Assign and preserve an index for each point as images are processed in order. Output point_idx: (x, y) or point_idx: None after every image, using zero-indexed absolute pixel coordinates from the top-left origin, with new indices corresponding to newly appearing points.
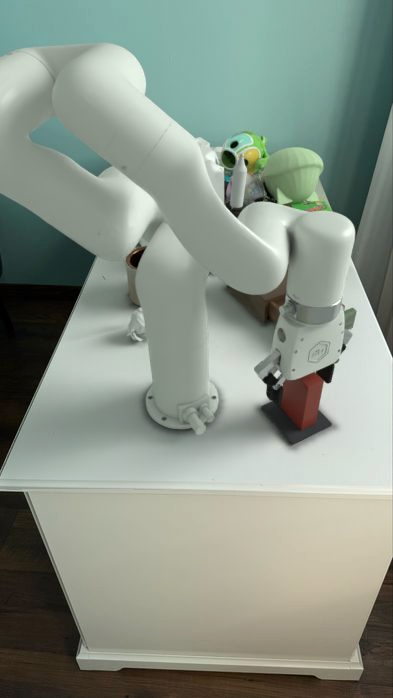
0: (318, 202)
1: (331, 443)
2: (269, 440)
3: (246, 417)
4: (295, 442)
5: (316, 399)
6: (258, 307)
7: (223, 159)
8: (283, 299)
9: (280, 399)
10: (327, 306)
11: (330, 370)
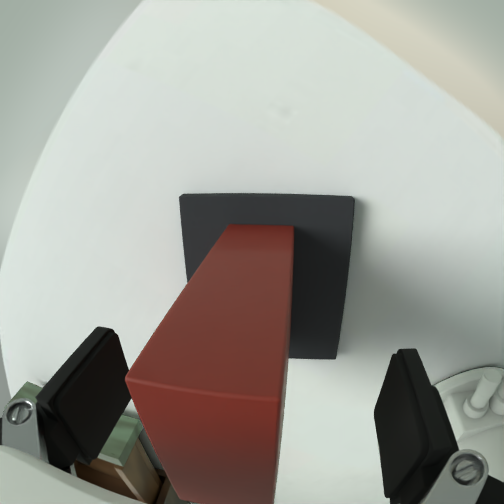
0: None
1: (228, 133)
2: (398, 250)
3: (388, 346)
4: (340, 197)
5: (212, 291)
6: (171, 501)
7: None
8: (120, 485)
9: (420, 379)
10: None
11: (66, 386)
